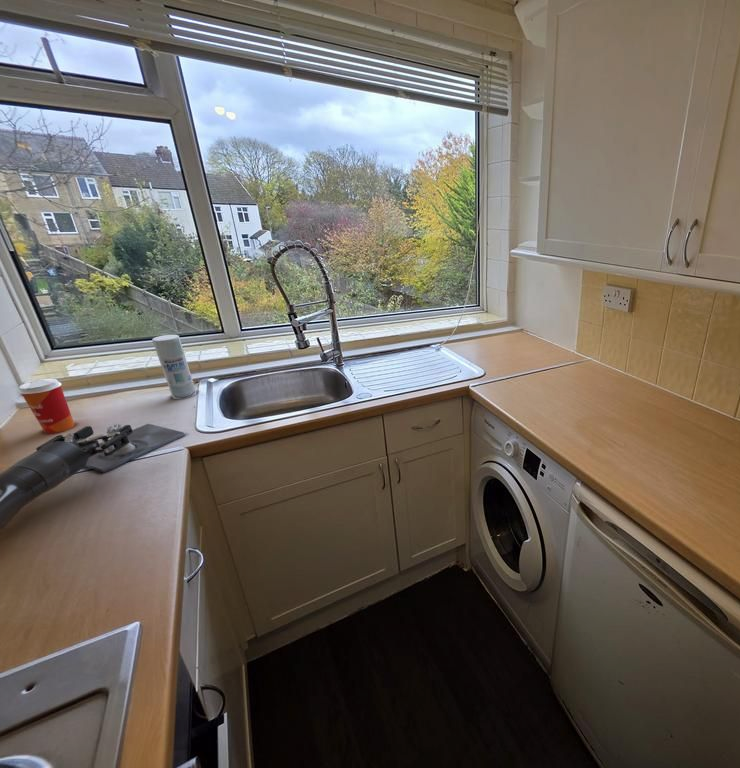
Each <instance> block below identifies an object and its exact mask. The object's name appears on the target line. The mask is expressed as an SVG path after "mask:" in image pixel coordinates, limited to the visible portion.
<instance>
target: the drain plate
mask: <svg viewBox="0 0 740 768" xmlns="http://www.w3.org/2000/svg"><path fill="white" fill-rule="evenodd" d="M132 430H133V433H132V434H130V435H129V436H127V437H128V440H129V442H130V443H131V444H132V445H134V446H135V450H133V451H131V452H129V453H126V454H123V455H117V456H114V455H113V454H111V455H109V456H105V455H104V453H98V454H96V455H94V456H91V457H89V458H88V460H87V463H86V465H85V466H84V468H87V469H91V470H94V471H97V472H100V473H104V474H105V473H107V472H109V471H111V470H113V469H117V468H118V467H120V466H122V465H124V464H127V463H128V462H131V461H134V460H135V459H137V458H139V457H142V456H143V455H146V454H148V453H150V452H152V451H154V450H156V449H158V448H162V447H163V446H166V445H167V444H169V443H172V442H174V441H177V440H178V439H180V438H182V437H185V433H184V431H181V430H180V431H179V430H175V429H172V428H167V427H163V426H159V425H154V424H151V423H146V424H144V425H141V426H139V427H136V428H134V429H132ZM109 440H111V438H109V439H108V441H109ZM98 443H99V445H100V447H101V445H102V444H103V441H101V442H98Z"/></svg>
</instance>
